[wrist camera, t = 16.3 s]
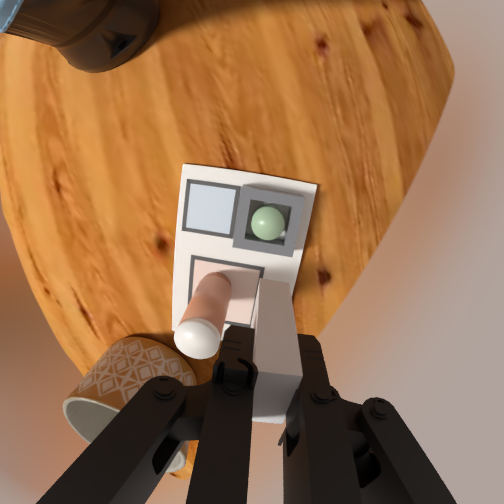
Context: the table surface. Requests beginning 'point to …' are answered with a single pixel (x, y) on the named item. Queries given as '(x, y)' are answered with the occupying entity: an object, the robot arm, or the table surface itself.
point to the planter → (123, 386)
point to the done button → (267, 222)
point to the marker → (204, 317)
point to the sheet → (229, 238)
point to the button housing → (292, 225)
